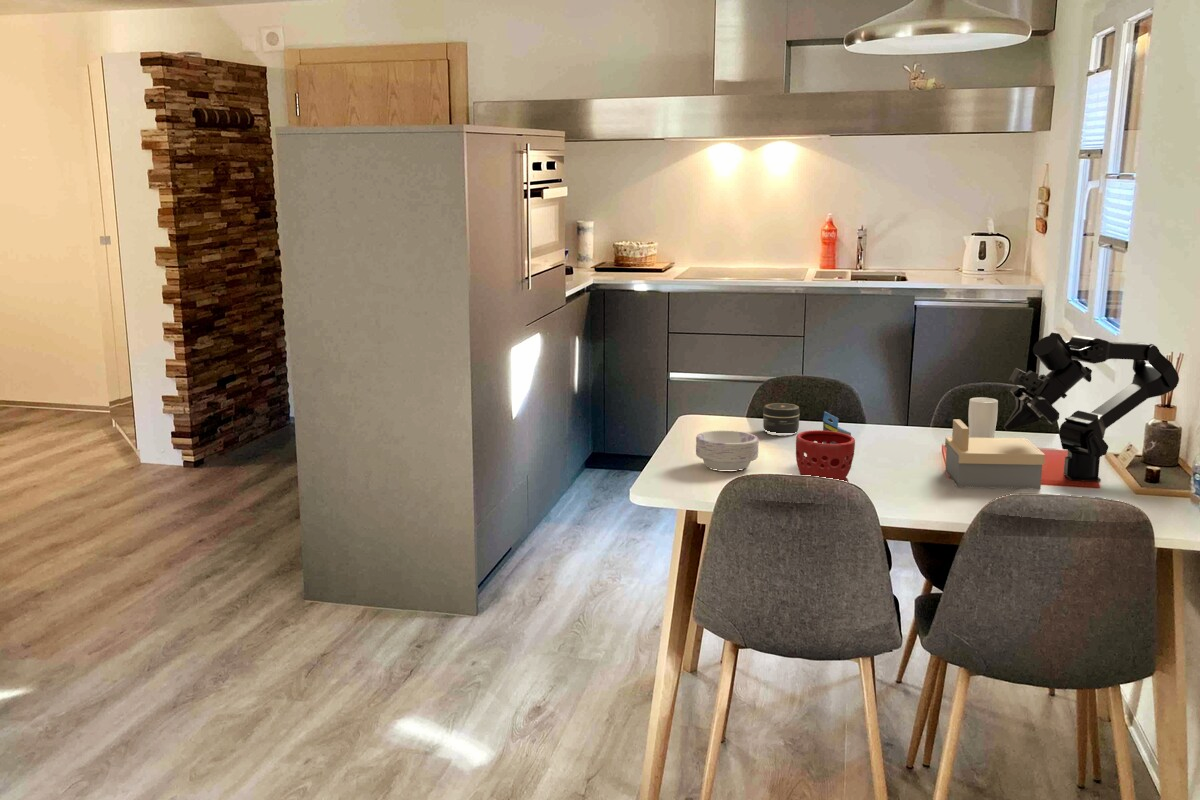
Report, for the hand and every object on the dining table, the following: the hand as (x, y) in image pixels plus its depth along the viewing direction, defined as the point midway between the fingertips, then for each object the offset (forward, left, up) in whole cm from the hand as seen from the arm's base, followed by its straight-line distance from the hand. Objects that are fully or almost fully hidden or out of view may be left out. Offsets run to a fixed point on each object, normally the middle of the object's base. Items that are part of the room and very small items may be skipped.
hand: (1005, 429), depth 242 cm
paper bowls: (+63, -8, -12) cm, 65 cm away
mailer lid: (+2, -1, -6) cm, 7 cm away
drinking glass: (0, -21, -12) cm, 24 cm away
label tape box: (+36, -15, -12) cm, 41 cm away
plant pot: (+41, +8, -12) cm, 44 cm away
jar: (+48, -47, -12) cm, 68 cm away
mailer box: (+2, -1, -12) cm, 12 cm away
